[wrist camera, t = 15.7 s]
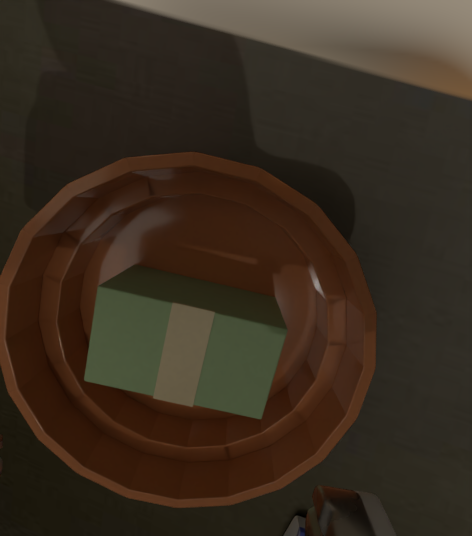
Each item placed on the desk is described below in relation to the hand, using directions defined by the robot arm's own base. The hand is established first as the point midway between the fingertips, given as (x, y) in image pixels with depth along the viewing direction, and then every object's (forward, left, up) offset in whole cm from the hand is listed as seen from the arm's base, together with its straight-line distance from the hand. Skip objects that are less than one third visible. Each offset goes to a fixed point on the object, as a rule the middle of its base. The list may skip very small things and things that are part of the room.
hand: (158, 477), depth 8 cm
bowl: (0, -1, -12) cm, 12 cm away
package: (0, -1, -12) cm, 12 cm away
